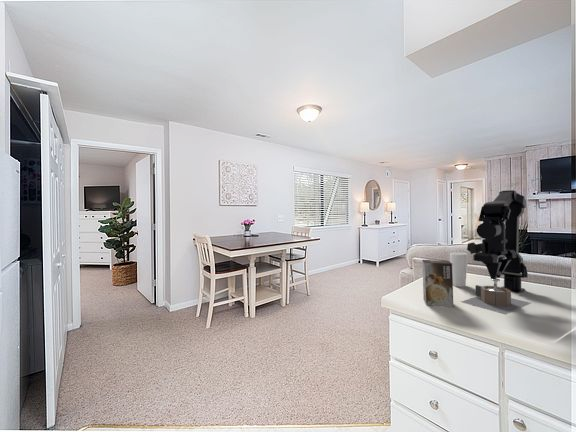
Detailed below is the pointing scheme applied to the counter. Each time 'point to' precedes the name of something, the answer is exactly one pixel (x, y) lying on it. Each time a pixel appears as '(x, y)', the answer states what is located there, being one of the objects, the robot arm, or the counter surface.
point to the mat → (500, 309)
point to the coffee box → (437, 283)
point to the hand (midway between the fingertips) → (495, 278)
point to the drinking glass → (459, 268)
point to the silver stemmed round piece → (496, 284)
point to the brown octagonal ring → (494, 296)
